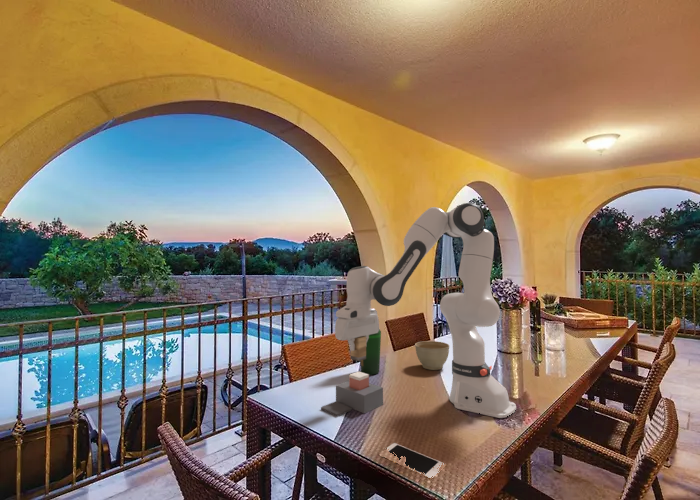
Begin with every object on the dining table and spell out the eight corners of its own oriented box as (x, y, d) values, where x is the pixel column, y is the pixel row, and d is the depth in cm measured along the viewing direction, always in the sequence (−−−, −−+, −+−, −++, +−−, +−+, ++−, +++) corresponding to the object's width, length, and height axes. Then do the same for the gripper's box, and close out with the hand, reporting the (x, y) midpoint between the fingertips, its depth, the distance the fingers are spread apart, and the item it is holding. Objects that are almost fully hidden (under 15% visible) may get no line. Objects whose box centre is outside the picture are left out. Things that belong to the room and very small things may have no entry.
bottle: (369, 367, 168) (368, 309, 169) (386, 372, 161) (385, 311, 162) (353, 372, 161) (353, 311, 162) (370, 377, 153) (370, 313, 154)
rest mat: (351, 410, 120) (351, 407, 120) (337, 416, 115) (337, 414, 115) (335, 403, 126) (335, 401, 126) (321, 409, 121) (321, 407, 121)
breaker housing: (383, 404, 125) (382, 387, 125) (364, 413, 118) (364, 395, 118) (354, 394, 135) (354, 378, 135) (335, 402, 127) (335, 385, 128)
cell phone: (431, 481, 82) (431, 479, 82) (377, 456, 93) (377, 454, 93) (447, 466, 88) (447, 464, 88) (394, 444, 98) (394, 442, 98)
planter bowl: (446, 362, 175) (446, 340, 175) (452, 373, 159) (452, 349, 159) (413, 362, 176) (413, 340, 177) (416, 372, 160) (416, 348, 161)
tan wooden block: (366, 358, 127) (366, 336, 127) (358, 361, 124) (358, 338, 124) (358, 356, 129) (358, 335, 130) (350, 358, 126) (350, 336, 127)
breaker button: (368, 388, 126) (368, 374, 126) (359, 392, 123) (359, 377, 123) (358, 384, 130) (358, 371, 130) (349, 388, 126) (349, 374, 126)
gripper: (370, 307, 137) (370, 342, 136) (332, 312, 122) (332, 352, 122) (383, 308, 132) (383, 345, 132) (345, 314, 118) (344, 355, 117)
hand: (358, 348), depth 127 cm, fingers closed on tan wooden block, 4 cm apart
